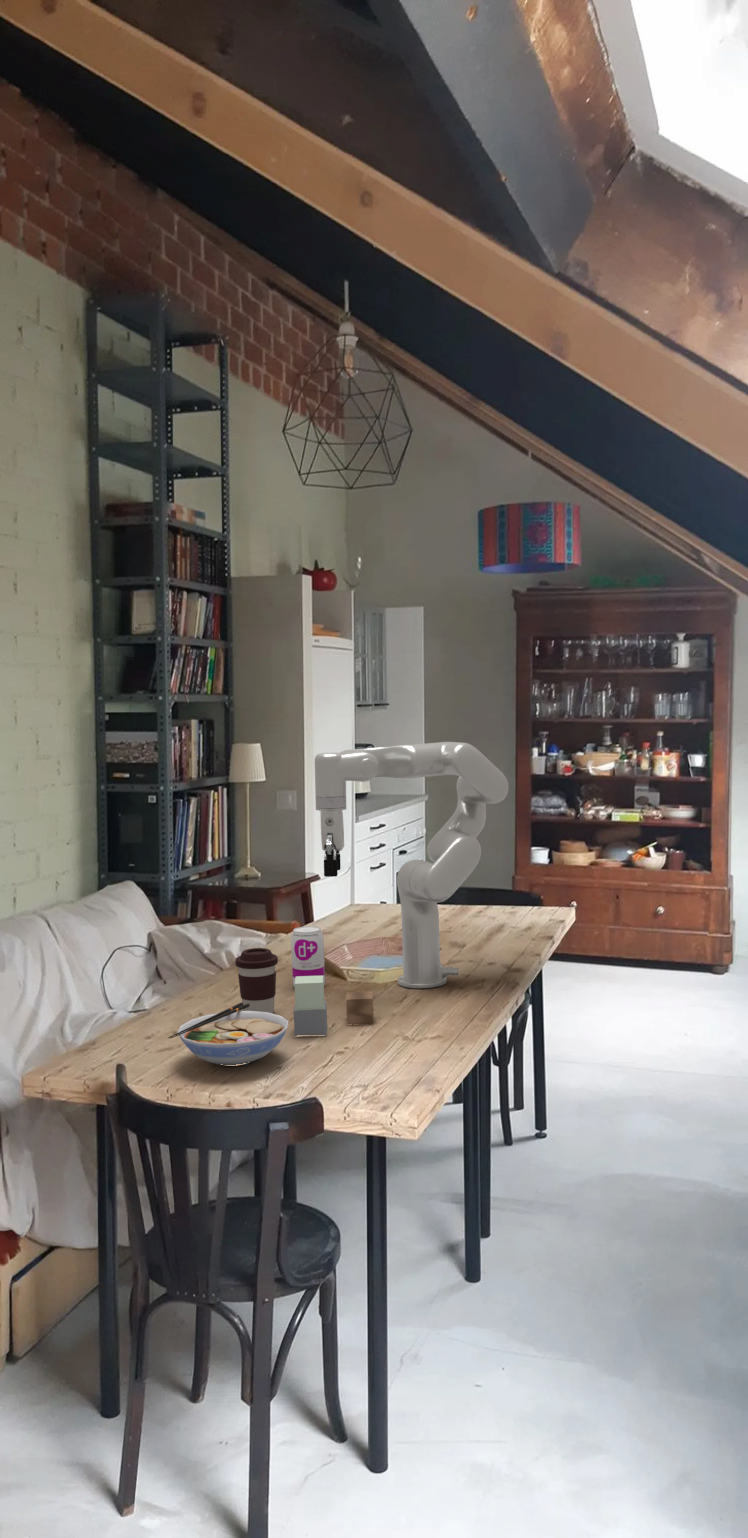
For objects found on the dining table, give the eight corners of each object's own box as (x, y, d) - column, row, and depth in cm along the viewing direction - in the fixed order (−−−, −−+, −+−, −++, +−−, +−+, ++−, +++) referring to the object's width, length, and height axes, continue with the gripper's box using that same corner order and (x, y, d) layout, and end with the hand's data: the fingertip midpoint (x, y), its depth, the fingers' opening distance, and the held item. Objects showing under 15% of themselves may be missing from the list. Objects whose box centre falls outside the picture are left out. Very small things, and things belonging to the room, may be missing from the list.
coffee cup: (286, 1008, 269) (283, 947, 268) (269, 1020, 260) (266, 956, 259) (248, 1006, 272) (246, 945, 271) (230, 1018, 263) (227, 954, 262)
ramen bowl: (240, 1089, 216) (238, 1047, 215) (151, 1071, 228) (149, 1031, 227) (315, 1051, 237) (313, 1013, 236) (230, 1036, 249) (228, 1000, 248)
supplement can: (320, 991, 283) (318, 932, 282) (289, 991, 285) (287, 932, 284) (328, 983, 291) (326, 926, 290) (297, 982, 293) (295, 925, 292)
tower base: (327, 1027, 254) (326, 1001, 253) (326, 1036, 247) (325, 1009, 246) (296, 1028, 254) (295, 1002, 253) (294, 1037, 247) (293, 1011, 246)
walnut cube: (373, 1016, 261) (372, 991, 260) (373, 1024, 255) (372, 998, 254) (347, 1017, 260) (346, 992, 260) (347, 1025, 254) (346, 999, 254)
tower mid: (324, 1001, 253) (323, 975, 253) (323, 1009, 247) (322, 982, 246) (296, 1002, 253) (295, 976, 252) (295, 1010, 247) (294, 983, 246)
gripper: (343, 806, 265) (345, 878, 266) (348, 800, 282) (350, 867, 284) (312, 807, 265) (313, 879, 267) (318, 800, 283) (320, 868, 284)
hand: (332, 873), depth 275 cm, fingers open, 9 cm apart
